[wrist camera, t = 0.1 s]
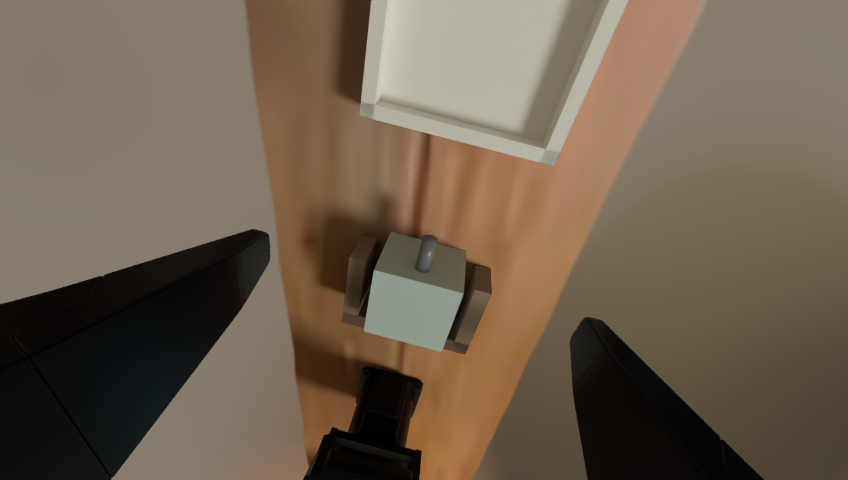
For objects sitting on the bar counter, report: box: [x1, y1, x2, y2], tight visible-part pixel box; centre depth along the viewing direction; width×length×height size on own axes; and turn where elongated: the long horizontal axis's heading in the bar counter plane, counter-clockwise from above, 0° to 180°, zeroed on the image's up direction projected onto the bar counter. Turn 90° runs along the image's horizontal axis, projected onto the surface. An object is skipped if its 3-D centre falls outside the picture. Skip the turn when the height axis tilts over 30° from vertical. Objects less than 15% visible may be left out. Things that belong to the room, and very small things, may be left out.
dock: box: [342, 235, 492, 354], centre depth 27 cm, size 7×10×3 cm, turn 78°
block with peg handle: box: [364, 232, 467, 352], centre depth 25 cm, size 8×6×5 cm
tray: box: [359, 0, 628, 166], centre depth 17 cm, size 12×12×2 cm
